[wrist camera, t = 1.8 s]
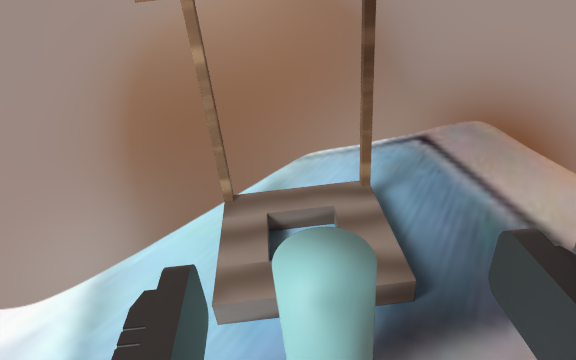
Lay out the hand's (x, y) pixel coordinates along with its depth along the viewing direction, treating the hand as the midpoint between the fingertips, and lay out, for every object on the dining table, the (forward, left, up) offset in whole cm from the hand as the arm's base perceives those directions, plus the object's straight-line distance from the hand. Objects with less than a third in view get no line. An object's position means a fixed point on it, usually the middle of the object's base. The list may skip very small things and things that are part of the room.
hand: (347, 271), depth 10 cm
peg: (+4, -5, -19) cm, 20 cm away
